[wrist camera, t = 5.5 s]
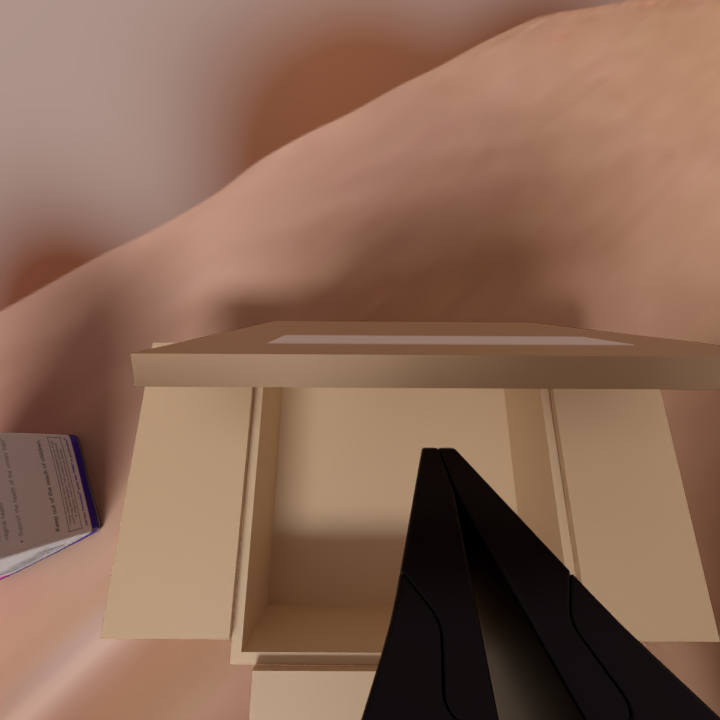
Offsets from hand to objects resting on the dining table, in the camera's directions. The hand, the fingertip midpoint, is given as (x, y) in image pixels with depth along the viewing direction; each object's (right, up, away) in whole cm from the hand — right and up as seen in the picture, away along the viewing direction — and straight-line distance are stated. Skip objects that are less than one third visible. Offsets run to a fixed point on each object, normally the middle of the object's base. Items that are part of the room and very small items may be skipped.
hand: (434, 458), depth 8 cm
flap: (0, +4, +7) cm, 8 cm away
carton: (0, -6, +9) cm, 11 cm away
